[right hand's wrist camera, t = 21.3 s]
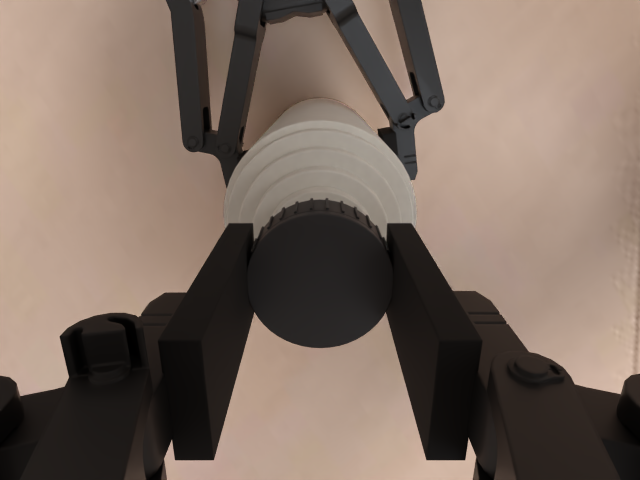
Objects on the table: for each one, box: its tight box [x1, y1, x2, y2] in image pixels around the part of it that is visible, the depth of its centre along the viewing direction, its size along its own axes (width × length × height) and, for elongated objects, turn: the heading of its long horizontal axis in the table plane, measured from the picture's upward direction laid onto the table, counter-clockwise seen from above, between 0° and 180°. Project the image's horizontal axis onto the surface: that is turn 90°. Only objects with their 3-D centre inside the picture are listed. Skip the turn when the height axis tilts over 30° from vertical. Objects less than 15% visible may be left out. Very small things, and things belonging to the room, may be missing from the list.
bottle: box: [224, 98, 417, 241], centre depth 24 cm, size 8×8×22 cm
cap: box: [247, 198, 393, 348], centre depth 14 cm, size 4×4×2 cm
